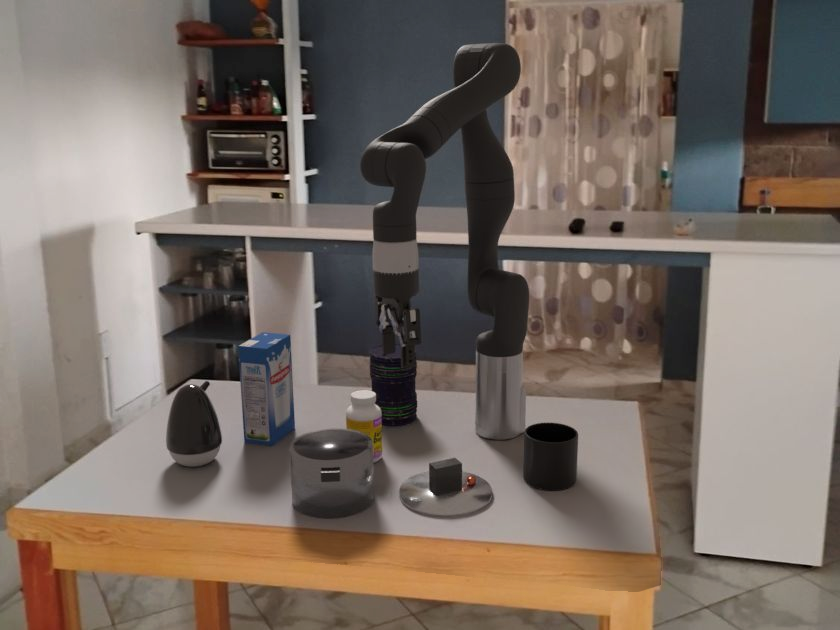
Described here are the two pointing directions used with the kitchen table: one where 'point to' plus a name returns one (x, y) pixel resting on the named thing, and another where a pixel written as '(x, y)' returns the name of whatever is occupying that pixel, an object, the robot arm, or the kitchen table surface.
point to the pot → (332, 472)
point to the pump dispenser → (193, 427)
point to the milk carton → (266, 388)
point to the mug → (550, 456)
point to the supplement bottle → (366, 419)
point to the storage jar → (393, 387)
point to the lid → (445, 490)
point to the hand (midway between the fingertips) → (398, 360)
